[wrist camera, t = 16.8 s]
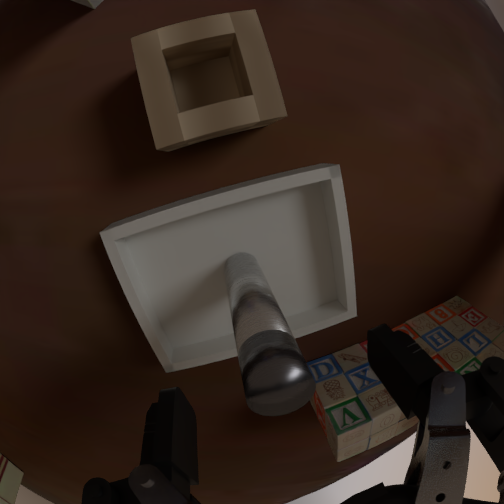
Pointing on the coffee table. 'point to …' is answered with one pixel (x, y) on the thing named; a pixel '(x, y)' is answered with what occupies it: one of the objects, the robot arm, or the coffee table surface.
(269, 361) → the cylinder
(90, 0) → the puzzle toy
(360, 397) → the stack of blocks
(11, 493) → the gift box
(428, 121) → the coffee table surface
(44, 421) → the coffee table surface
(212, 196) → the tray
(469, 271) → the coffee table surface
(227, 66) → the maple bore block
